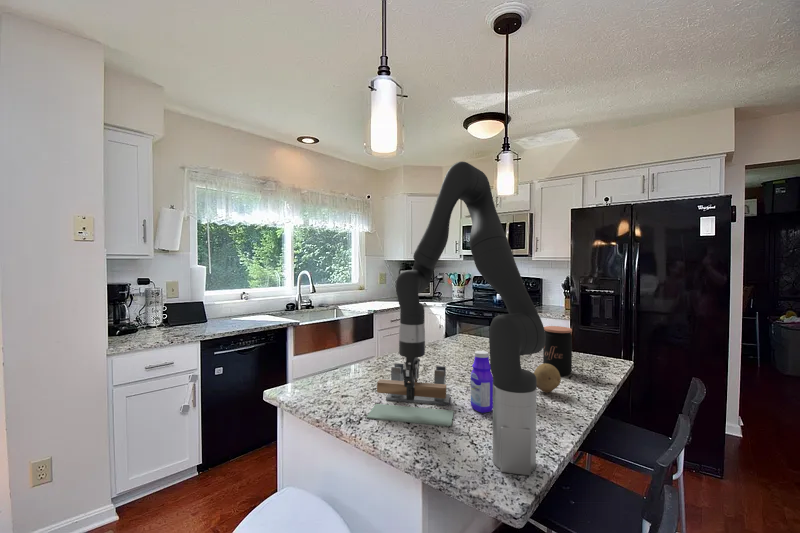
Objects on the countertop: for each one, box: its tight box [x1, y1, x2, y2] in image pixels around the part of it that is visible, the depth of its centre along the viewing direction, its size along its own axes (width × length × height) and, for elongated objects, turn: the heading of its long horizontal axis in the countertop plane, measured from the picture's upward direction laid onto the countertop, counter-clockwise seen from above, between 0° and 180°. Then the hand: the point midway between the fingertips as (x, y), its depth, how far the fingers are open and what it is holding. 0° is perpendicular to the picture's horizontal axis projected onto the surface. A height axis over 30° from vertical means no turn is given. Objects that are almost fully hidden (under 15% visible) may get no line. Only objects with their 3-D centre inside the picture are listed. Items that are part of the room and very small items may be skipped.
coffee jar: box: [542, 325, 573, 377], centre depth 150 cm, size 11×11×18 cm
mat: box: [366, 403, 455, 427], centre depth 108 cm, size 10×24×1 cm, turn 78°
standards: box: [385, 362, 451, 406], centre depth 120 cm, size 7×20×10 cm, turn 78°
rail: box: [376, 378, 447, 399], centre depth 108 cm, size 3×20×3 cm, turn 77°
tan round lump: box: [533, 363, 561, 394], centre depth 126 cm, size 9×9×10 cm
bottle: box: [470, 350, 493, 414], centre depth 112 cm, size 7×6×17 cm
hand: (411, 397), depth 108 cm, fingers closed on rail, 3 cm apart
